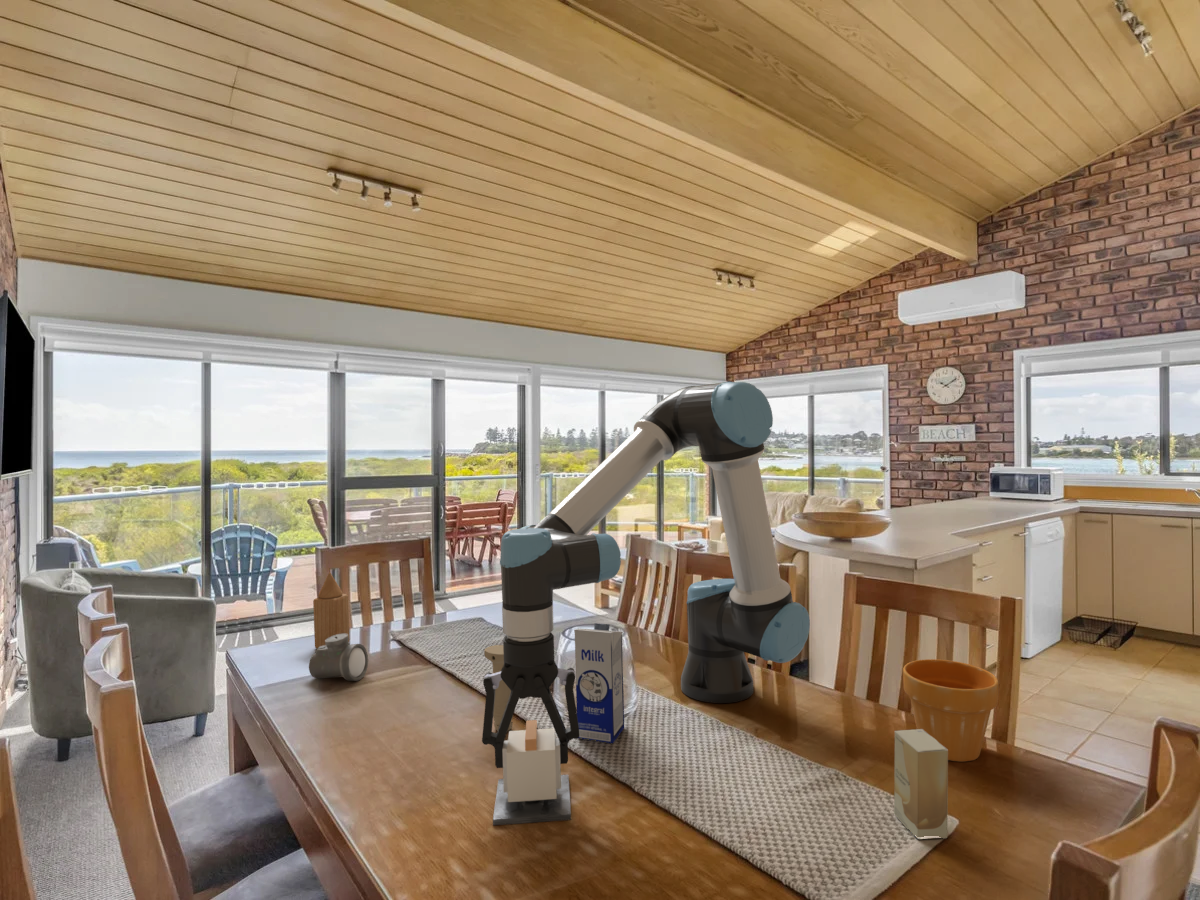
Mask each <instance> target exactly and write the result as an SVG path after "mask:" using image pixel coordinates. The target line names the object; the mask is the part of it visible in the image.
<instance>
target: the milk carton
mask: <svg viewBox="0 0 1200 900" xmlns="http://www.w3.org/2000/svg"><path fill="white" fill-rule="evenodd" d="M610 625H611V624H609V623H606V624H605V623H598V622H595V623H594V626H593V629H592V628H579V627H578V628H575V629H573V630H574V655H575V656H574V657H575V658H574V659H575V661H574V662H575V695H576V696H575V699H576V700H575V704H576V712H577V719H578V725H579V734H580V735H579V738H582V739H581V740H584V739H589V740H588V741H591V740H596V741H595V742H598V741H599V742H598V743H604V742H606V744H611V743H612V744H614V743H615V742H616V740H617V739H618V737H619V736H620V735H621V733H622V732H623V731H624V729H625V705H624V704H625V702H624V695H625V694H624V693H625V692H624V666H623V665H624V663H623V662H624V660H623V658H624V657H623V655H624V654H623V631H616V630H610Z"/></svg>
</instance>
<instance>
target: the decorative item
mask: <svg viewBox="0 0 1200 900" xmlns="http://www.w3.org/2000/svg"><path fill="white" fill-rule="evenodd" d="M320 588H321V589H320V591H319V593H318V595H317V597H316V598H313V601H312V604H313V627H314V628H313V630H314V631H313V632H314V633H313V635H314V648H315V649H318V647H320V646H324V645H326V644H325V640H326V639H327V638H329V637H331V636H333V635H337V634H341V633H346V634H348V637H349V640H348V643H350V639H351V638H350V613H349V610H350V609H349V594H347V593H344V592H343V591H342V588H341V587H340V586H339V584H338V582H337V581H336V579H335V578H334V576H333V575H332V573H331V571H330V570H329V572H328V574H327V575H326V577H325V580H324V582H323V585H321V587H320Z"/></svg>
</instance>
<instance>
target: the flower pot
mask: <svg viewBox="0 0 1200 900" xmlns="http://www.w3.org/2000/svg"><path fill="white" fill-rule="evenodd" d="M902 681H903V690H904V693H905V694H906V695H907V696H908V697H909V699H910V704H911V708H912V713H913V716H914V717H913V718H914V722H915V727H916V729H923V730H924V731H925V732H927V733H928V734H929V735H930V736H932V737H933V738H935V739H936V740H937V741H938V742H939V743H940V744H941V745H943V746H944V747H945V748H946V749H948V761H952V762H959V763H960V762H961V763H962V762H970V761H976V759H978V758H979V757H980V754H981V751H982V747H983V744H984V740H985V735H986V732H987V728H988V724H989V719H990V716H991V712H992V710H994V709H995V708H996V707H997V706H998V704H999V703H998V702H999V679H998V677H997V676H995V675H994V674H993V673H992V672H990V671H988V670H986V669H984V668H982V667H979V666H976V665H974V664H969V663H965V662H961V661H955V660H950V659H949V660H948V659H938V658H937V659H936V658H935V659H933V658H932V659H918V660H913V661H910V662H908V663H906V664H905V665H904V666H903V668H902Z"/></svg>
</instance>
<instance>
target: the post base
mask: <svg viewBox="0 0 1200 900" xmlns="http://www.w3.org/2000/svg"><path fill="white" fill-rule="evenodd" d="M569 777H570V775H569V774H561V789H556V796H557V799H547V800H533V801H518V802H508V792H505V793H504V786H503V778H498V781H497V787H496V795H495V803H494V809H493V816H492V817H493V818H492V826H502V825H505V826H506V825H514V824H515V825H516V824H519V825H520V824H528V823H531V824H533V823H545V822H559V821H570V820H572V812H571V811H572V810H571V796H570V795H571V794H570V781H569V780H570V778H569Z"/></svg>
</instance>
